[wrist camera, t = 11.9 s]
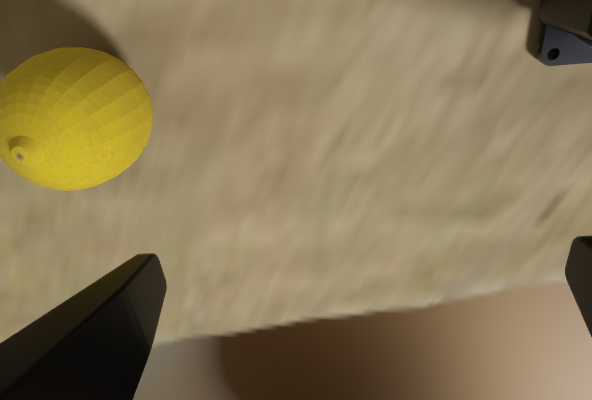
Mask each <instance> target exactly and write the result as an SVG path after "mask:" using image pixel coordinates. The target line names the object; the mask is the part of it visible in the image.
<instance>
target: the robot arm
mask: <svg viewBox="0 0 592 400" xmlns="http://www.w3.org/2000/svg"><path fill="white" fill-rule="evenodd" d="M539 19H540V20H541V21H542V22H543V25H542V31H541V36H540V42H539V47H538V53H537V56H538V59H539V61H540V62H541V63H543V64H545V65H548V66H555V65H568V64H580V63H592V0H542V1H541V7H540V13H539ZM553 48H555V54H554V55H553V56H552V57H551V58H547V54H548V52H549V51H550V50H551V49H553ZM565 276H566V279H567V282H568V284H569V286H570V289H571V291H572V293H573V296H574V298H575V300H576V303H577V305H578V307H579V309H580V312H581V314H582V316H583V318H584V321H585V323H586V326H587V328H588V330H589V332H590V334H591V337H592V236H578V237H576V238H575V239H574V240H573V242H572V245H571V248H570V252H569V256H568V259H567V263H566V267H565ZM165 294H166V279H165V276H164V273H163V270H162V267H161V264H160V261H159V258H158V256H157V255H156V254H153V253H150V254H137V255H136V256H134V257H132V258H131V259H129V260H128V261H126V262H125V263H123V264H122V265H120V266H119V267H117V268H116V269H114V270H112V271H111V272H109V273H108V274H106V275H105V276H103V277H102V278H100V279H99V280H97V281H96V282H94V283H92V284H91V285H89V286H88V287H86V288H85V289H83V290H82V291H80V292H79V293H77V294H76V295H74V296H72V297H71V298H69V299H68V300H66V301H65V302H63V303H62V304H60V305H59V306H57V307H56V308H54V309H52V310H51V311H49V312H48V313H46V314H45V315H43V316H42V317H40V318H39V319H37V320H36V321H34V322H32V323H31V324H29V325H28V326H26V327H25V328H23V329H22V330H20V331H19V332H17V333H16V334H14V335H12V336H11V337H9V338H8V339H6V340H5V341H3V342H2V343H0V400H133V397H134V394H135V392H136V389H137V387H138V384H139V381H140V379H141V376H142V373H143V371H144V368H145V365H146V363H147V360H148V357H149V354H150V351H151V348H152V344H153V341H154V337H155V333H156V329H157V325H158V321H159V317H160V313H161V309H162V305H163V301H164V297H165Z"/></svg>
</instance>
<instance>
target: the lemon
mask: <svg viewBox="0 0 592 400" xmlns="http://www.w3.org/2000/svg"><path fill="white" fill-rule="evenodd" d="M152 126H153V107H152V103H151V100H150V96H149V93H148V91H147V89H146V88H145V86H144V84H143V82H142V81H141V79H140V78H139V77H138V76H137V74H136V73H135V72H134V71H133V70H132V69H131V68H130V67H129V66H127V65H126V64H125V63H124V62H122V61H121V60H119V59H117V58H115V57H113V56H111V55H109V54H107V53H105V52H102V51H98V50H94V49H90V48H85V47H63V48H56V49H53V50H49V51H46V52H43V53H40V54H37V55H35V56H33V57H31V58H29V59H27V60H26V61H24V62H23V63H22V64H20V65H19V66H18V67H16V68H15V69H14V70H13V71H11V72H10V73H9V74H8V75H7V76H6V77H5V78H4V79H3V80H2V81H1V83H0V157H1V158H2V159H3V161H4V162H5V163H6V164H7V165H8V166H9V167H10V168H11V169H12V170H13V171H15V172H16V173H17V174H18V175H20V176H21V177H23V178H25V179H26V180H28V181H30V182H32V183H34V184H37V185H40V186H43V187H46V188H49V189H57V190H66V191H70V190H79V189H86V188H90V187H93V186H96V185H98V184H101V183H103V182H106V181H108V180H110V179H112V178H114V177H116V176H117V175H119V174H120V173H122V172H123V171H124V170H125V169H127V168H128V167H129V166H130V165H131V164H133V163H134V162H135V161H136V160H137V158H138V157H139V155H140V154H141V152H142V151H143V149H144V148H145V146H146V144H147V143H148V140H149V137H150V133H151V130H152Z"/></svg>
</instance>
